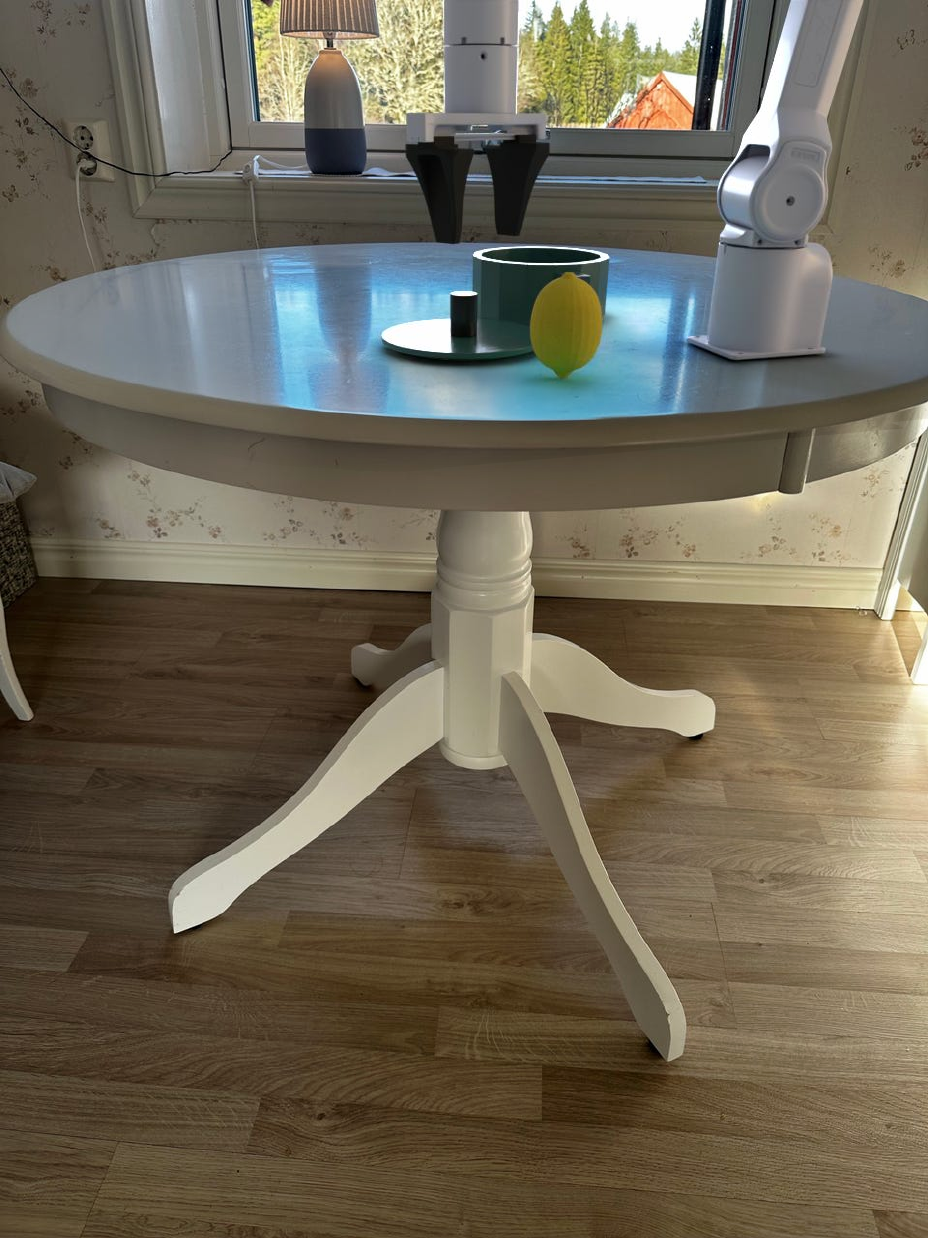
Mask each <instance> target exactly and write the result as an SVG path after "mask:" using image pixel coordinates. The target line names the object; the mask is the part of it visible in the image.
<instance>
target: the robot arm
mask: <svg viewBox="0 0 928 1238" xmlns="http://www.w3.org/2000/svg"><path fill="white" fill-rule="evenodd" d="M863 3H864V0H790V3H789V5H788V10H787V14H786V17H785V21H784V24H783V28H782V31H781V35H780V37H779V42H778V45H777V48H776V53H775V56H774V59H773V60H774V61H773V64H772V67H771V70H770V73H769V77H768V81H767V84H766V88H765V91H764V95H763V99H762V102H761V106H760V109H759V110H758V112H757V113H756V115H755V116H754V118H753V120H752V121H751V123H750V124H749V126H748V128H747V129H746V131H745V132H744V134H743V136H742V140H741V144H740V147H739V150H738V152H737V155H736V156H735V158H734V159H733V161H732V162H731V163H730V165H729V166H728V167H727V169H725V171H724V173H723V175H722V177H721V178H720V181H719V184H718V187H717V192H716V204H717V205H716V206H717V209H718V212H719V214H720V216H721V218H722V220H723V221H724V222H725V226H724V229H723V230H722V232H721V233H720V234H719V242H718V247H717V255H716V262H715V263H716V264H715V271H714V279H713V285H712V294H711V302H710V310H709V315H708V316H709V318H708V323H707V324H708V325H707V332H706V334H702V335H701V334H700V335H689V336H687V337H686V342H687V343H689V344H692V345H694V346H697V347H699V348H701V349H704V350H707V351H709V352H712V353H715V354H717V355H719V356H721V357H724V358H727V359H729V360H732V361H740V360H741V361H742V360H755V359H768V358H769V359H770V358H782V357H795V356H807V355H820V354H821V355H822V354H825V353H826V347H824V346H821V344H822V343H821V342H822V338H823V333H824V327H825V322H826V317H827V312H828V308H829V307H828V306H829V301H830V296H831V291H832V290H831V289H832V286H833V279H834V278H833V277H834V275H833V274H834V271H833V270H834V269H833V262H832V258H831V255H830V253H829V251H828V250H827V249H826V248H825V247H824V246H823V245H822V244H820V243H818V242H809V237H810V236H809V233H810V232H811V231H813V230H814V229H815V227H817V225H818V224H819V222H820V221H821V219H822V217H823V216H824V214H825V212H826V208H827V205H828V199H829V186H828V177H827V176H828V175H827V174H828V166H829V160H830V158H831V154H832V151H833V142H832V137H831V134H830V133H831V132H830V129H829V124H828V116H829V114H830V110H831V106H832V103H833V100H834V97H835V94H836V90H837V87H838V84H839V82H840V78H841V74H842V70H843V68H844V65H845V61H846V58H847V55H848V52H849V48H850V45H851V42H852V40H853V39H852V38H853V35H854V32H855V29H856V25H857V23H858V19H859V16H860V13H861V10H862V7H863ZM442 12H443V13H442V16H443V17H442V18H443V19H442V23H443V25H442V30H443V31H442V34H443V41H442V42H443V112H406V113H405V125H406V126H405V130H406V131H405V133H406V134H405V135H406V142H407V143H405V147H404V148H405V158H406V160H407V162H408V163H409V165H410V167H411V168H412V171H413V173H414V174H415V177H416V179H417V181H418V183H419V186H420V188H421V191H422V194H423V197H424V199H425V203H426V207H427V210H428V215H429V217H430V222H431V227H432V231H433V234H434V239H435V241H436V243H437V244H438V243H439V244H448V245H459V244H460V242H461V239H462V231H463V220H464V219H463V217H464V201H465V200H464V197H465V192H466V186H467V180H468V175H469V172H470V167H471V164H472V160H473V158H474V155H475V149H474V148H471V147H470V148H469V147H459V144H458V143H455V142H460V141H461V142H466V141H467V142H468V141H469V142H470V141H473V142H474V141H500V142H499V144H485V146H484V151H485V154H486V158H487V161H488V166H489V170H490V175H491V181H492V188H493V209H494V210H493V211H494V225H495V231H496V235H498V236H499V235H500V236H507V237H520V234H521V231H522V227H523V223H524V220H525V216H526V212H527V208H528V204H529V202H530V197H531V194H532V192H533V189H534V187H535V183H536V181H537V179H538V177H539V174H540V172H541V170H542V168H543V166H544V165H545V162H547V159H548V158H549V156H550V152H551V142H549V141H542V140H546V135H547V132H546V131H547V113H525V112H524V113H523V112H522V113H520V112H519V113H517V111H518V110H517V109H518V107H517V106H518V77H519V76H518V73H519V72H518V71H519V69H518V68H519V36H520V35H519V34H520V33H519V31H520V0H442ZM473 126H487V131H501V132H482V133H481V132H480V133H479V132H478V133H477V132H476V133H473V132H472V131H473ZM458 132H469V133H458ZM470 132H472V133H470ZM537 140H541V141H537Z"/></svg>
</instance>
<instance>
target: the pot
mask: <svg viewBox="0 0 928 1238" xmlns="http://www.w3.org/2000/svg"><path fill="white" fill-rule="evenodd" d="M609 268H610V256H609V255H608V254H607V253H603V252H600V251H596V250H589V249H583V248H575V247H574V248H573V247H557V246H508V247H507V246H506V247H496V248H495V247H494V248H487V249H482V250H478V251H475V252H474V253H473V254H472V289H471V290H472V291H471V292H475V293H477V294H478V299H477V319H484V320H497V321H505V322H512V323H518V324H523V325H526V326H530V321H531V315H532V311H533V307H534V304H535V301H536V299H537V297H538V295H539V293H540V292H541V291H542V289H543V288H544V287H545V286H546V285H547V284H549V283H550V282H551V281H553V280H555V279H557V278H560V277H562V276H563V274H564V273H566V272H572V273H574V274H575V275H576V277H577V278H579V279H581V280H583V281H585V282H586V283H588V284H589V285H590V286H591V287H592V288H593V290H594V291H595V292H596V294H597V296H598V299H599V302H600V306H601V312H602V321H603V320H604V319H605V315H606V308H607V307H606V305H607V294H608V283H609V282H608V281H609Z"/></svg>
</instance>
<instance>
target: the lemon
mask: <svg viewBox="0 0 928 1238" xmlns="http://www.w3.org/2000/svg"><path fill="white" fill-rule="evenodd" d="M602 334H603V320H602V312H601V306H600V302H599V299H598V296H597V294H596V292H595V291H594V290H593V288H592V287H591V286H590V285H589V284H588V283H586V282H585V281H583V280H581V279H579V278H577V277H576V275H575V274H574V273H572V272H566V273H564V274H563V276H562V277H560V278H557V279H555V280H553V281H551V282H550V283H549V284H547V285H546V286H545V287H544V288H543V289H542V291H541V292H540V293H539V295H538V297H537V299H536V301H535V304H534V307H533V311H532V315H531V321H530V337H531V343H532V347H533V350H534V351H533V353H534V354H535V356H536V358H537V359H538V361H539V362H540V363H541V364H542V365H543V366H544V367H546V368H547V369H550V370H551V371H553V372H554V374H555V376H557V377H558V379H562V380H566V379H568V378H569V377H570V376H571V375H572V374H573V372H575V371H577V370H580V369H582V368H583V367H585V366H586V365H587V364H588V363H589V362H590V361H591V360H593V358H594V356H595V355H596V354H597V351H598V349H599V347H600V344H601V340H602Z"/></svg>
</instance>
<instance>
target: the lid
mask: <svg viewBox="0 0 928 1238" xmlns="http://www.w3.org/2000/svg"><path fill="white" fill-rule="evenodd" d="M477 299H478V294H477V293H475V292H472V291H469V290H466V291H465V290H461V291H460V290H459V291H452V292H450V294H449V318H441V319H440V318H439V319H426V320H418V321H417V320H416V321H412V322H405V323H401V324H398V325H393V326H391V327H389V328H387V329H385V330H384V331H383V332H382V333H381V343H382V344H383V346H385V347H387V348H388V349H390V350H393V351H396V352H399V353H402V354H406V355H411V356H417V357H421V358H425V359H429V360H430V359H432V360H439V361H450V362H478V361H481V362H482V361H491V360H499V359H505V358H509V357H514V356H520V355H525V354H528V353H532V352H534V350H533V347H532V343H531V337H530V326H526V325H523V324H518V323H512V322H505V321H497V320H484V319H477Z"/></svg>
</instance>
